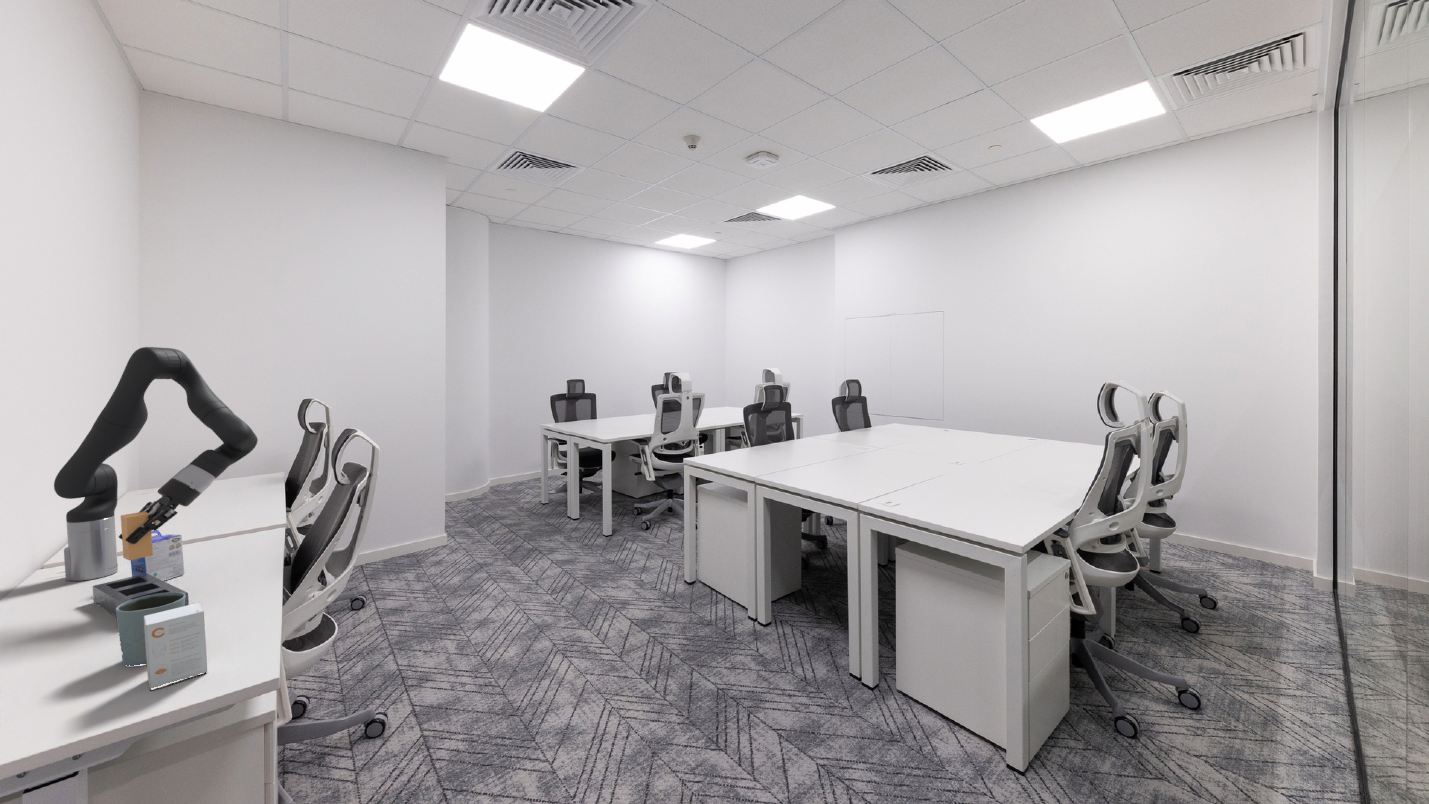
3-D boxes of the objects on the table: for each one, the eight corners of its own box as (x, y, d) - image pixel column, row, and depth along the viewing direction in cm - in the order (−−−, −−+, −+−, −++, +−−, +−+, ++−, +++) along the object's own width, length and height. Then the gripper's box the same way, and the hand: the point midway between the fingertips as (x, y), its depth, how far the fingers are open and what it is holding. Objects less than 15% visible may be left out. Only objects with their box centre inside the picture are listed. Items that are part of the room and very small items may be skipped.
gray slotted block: (93, 602, 138) (92, 585, 138) (147, 589, 147) (146, 573, 147) (132, 626, 125) (131, 608, 125) (189, 610, 134) (188, 592, 134)
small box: (203, 662, 110) (200, 601, 109) (208, 673, 106) (204, 610, 105) (146, 679, 104) (142, 615, 103) (148, 692, 100) (145, 625, 99)
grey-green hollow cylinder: (111, 661, 110) (108, 605, 110) (177, 639, 119) (174, 587, 119) (129, 674, 106) (125, 615, 105) (196, 650, 115) (193, 596, 114)
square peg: (129, 560, 133) (126, 517, 132) (123, 557, 135) (120, 515, 134) (152, 555, 136) (150, 513, 136) (146, 552, 138) (144, 511, 138)
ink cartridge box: (169, 573, 159) (167, 526, 158) (185, 574, 158) (183, 526, 157) (130, 586, 149) (127, 536, 148) (147, 587, 148) (144, 537, 147)
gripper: (163, 474, 144) (100, 529, 134) (184, 479, 138) (119, 537, 128) (190, 489, 149) (131, 544, 139) (212, 495, 143) (151, 552, 133)
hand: (126, 540), depth 134 cm, fingers closed on square peg, 4 cm apart
